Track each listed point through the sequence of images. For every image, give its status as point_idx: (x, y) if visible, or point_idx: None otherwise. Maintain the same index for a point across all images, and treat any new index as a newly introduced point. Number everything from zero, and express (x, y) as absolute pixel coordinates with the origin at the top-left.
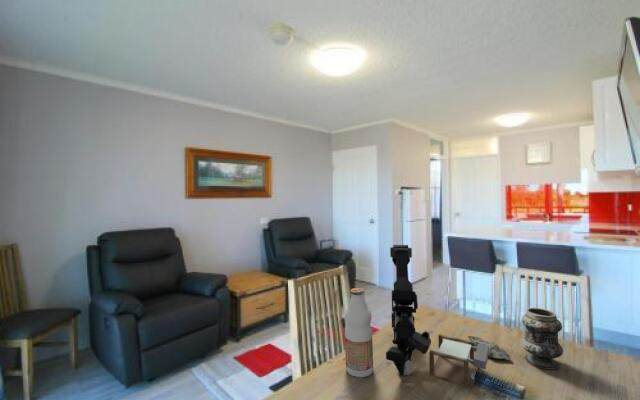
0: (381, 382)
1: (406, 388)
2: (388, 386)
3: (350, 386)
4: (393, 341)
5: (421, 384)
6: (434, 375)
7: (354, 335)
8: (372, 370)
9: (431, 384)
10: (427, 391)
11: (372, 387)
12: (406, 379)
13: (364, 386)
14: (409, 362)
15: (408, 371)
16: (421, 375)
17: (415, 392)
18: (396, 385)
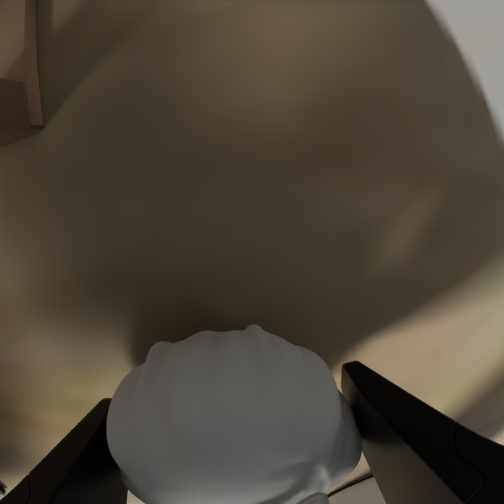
0: (449, 398)
1: (466, 228)
2: (479, 346)
3: (497, 431)
4: (2, 491)
5: (318, 111)
6: (27, 67)
7: None
8: (376, 487)
9: (227, 9)
10: (398, 17)
11: (498, 388)
12: (328, 308)
13: (494, 410)
14: (206, 467)
15: (300, 360)
16: (111, 208)
17: (478, 128)
18: (456, 317)
